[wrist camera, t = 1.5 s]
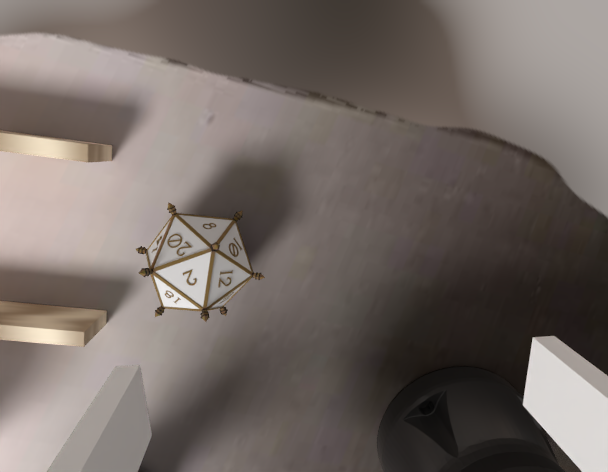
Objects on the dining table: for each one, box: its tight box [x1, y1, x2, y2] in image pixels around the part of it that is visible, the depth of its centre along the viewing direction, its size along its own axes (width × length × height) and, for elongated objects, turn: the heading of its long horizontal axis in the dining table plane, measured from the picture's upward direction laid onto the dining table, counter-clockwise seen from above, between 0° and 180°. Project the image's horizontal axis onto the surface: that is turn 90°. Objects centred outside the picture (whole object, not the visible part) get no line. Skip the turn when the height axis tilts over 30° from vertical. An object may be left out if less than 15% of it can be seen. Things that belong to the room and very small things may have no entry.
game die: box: [136, 203, 265, 322], centre depth 29 cm, size 9×8×10 cm
